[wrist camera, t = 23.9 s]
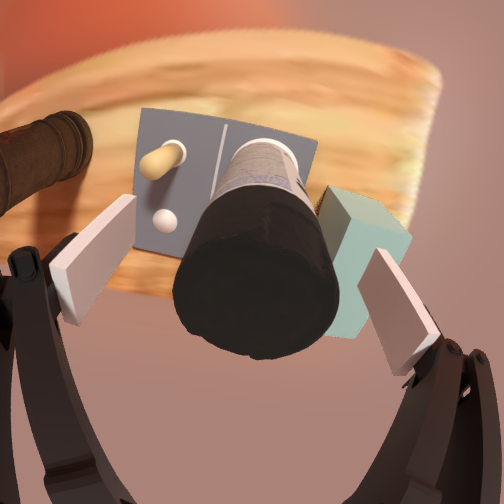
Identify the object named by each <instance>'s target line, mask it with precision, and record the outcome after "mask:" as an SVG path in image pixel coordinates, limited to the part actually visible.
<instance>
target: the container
mask: <svg viewBox="0 0 504 504" xmlns="http://www.w3.org/2000/svg"><path fill="white" fill-rule="evenodd" d="M92 148H93V140H92V134H91V131H90V128H89V126H88V124H87V122H86V121H85V120H84V119H83V118H82V117H81V116H80V115H79V114H77V113H75V112H72V111H60V112H57V113H55V114H51V115H49V116H47V117H46V118H44V119H43V120H37V121H34V122H32V123H30V124H28V125H24V126H21V127H18V128H15V129H11V130H8V131H5V132H2V133H0V217H2V216H3V215H4V214H5V213H6V211H8V210H9V209H11V208H12V207H14V206H15V205H17V204H18V203H20V202H21V201H23V200H25V199H26V198H28V197H29V196H31V195H32V194H34V193H36V192H37V191H39V190H41V189H43V188H46V187H49V186H51V185H53V184H54V183H55V182H57V181H64V180H66V179H68V178H71V177H74V176H76V175H77V174H78V173H80V172H81V171H82V170H83V169H84V167H85V166H86V165H87V163H88V161H89V159H90V157H91V153H92Z"/></svg>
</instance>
